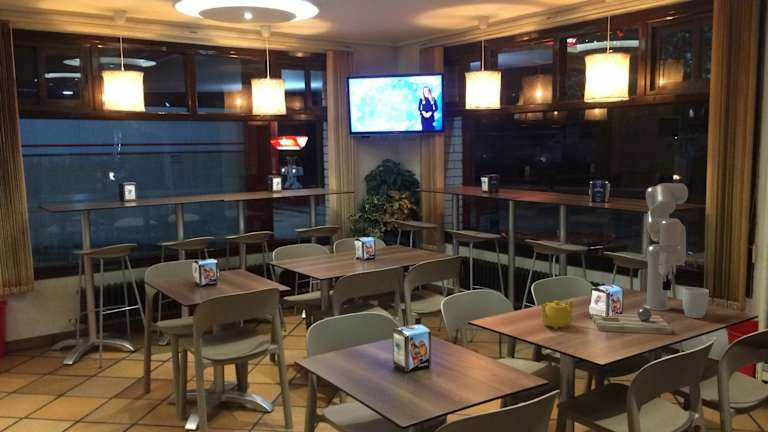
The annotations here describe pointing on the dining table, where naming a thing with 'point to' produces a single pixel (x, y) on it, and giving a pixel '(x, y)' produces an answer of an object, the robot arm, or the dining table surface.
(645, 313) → the ball
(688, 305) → the mug
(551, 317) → the teapot
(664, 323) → the runway board
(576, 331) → the dining table surface
